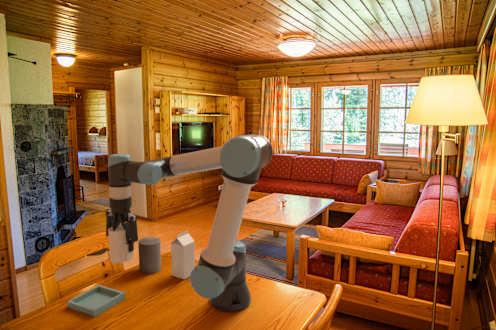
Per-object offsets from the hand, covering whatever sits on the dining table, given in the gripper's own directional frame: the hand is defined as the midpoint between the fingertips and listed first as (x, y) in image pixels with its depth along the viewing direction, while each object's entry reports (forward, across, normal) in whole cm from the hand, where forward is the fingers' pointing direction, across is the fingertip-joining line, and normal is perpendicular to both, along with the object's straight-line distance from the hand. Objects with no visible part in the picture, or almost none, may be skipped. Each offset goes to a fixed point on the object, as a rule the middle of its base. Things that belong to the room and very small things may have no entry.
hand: (122, 257), depth 129 cm
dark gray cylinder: (+17, +10, -25) cm, 32 cm away
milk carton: (+17, -7, -27) cm, 33 cm away
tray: (+17, +7, +6) cm, 20 cm away
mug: (+1, 0, 0) cm, 1 cm away
